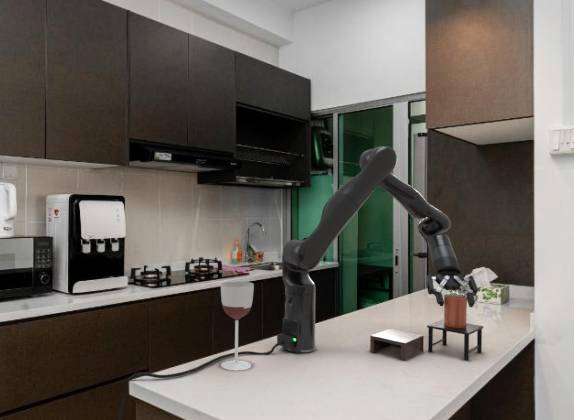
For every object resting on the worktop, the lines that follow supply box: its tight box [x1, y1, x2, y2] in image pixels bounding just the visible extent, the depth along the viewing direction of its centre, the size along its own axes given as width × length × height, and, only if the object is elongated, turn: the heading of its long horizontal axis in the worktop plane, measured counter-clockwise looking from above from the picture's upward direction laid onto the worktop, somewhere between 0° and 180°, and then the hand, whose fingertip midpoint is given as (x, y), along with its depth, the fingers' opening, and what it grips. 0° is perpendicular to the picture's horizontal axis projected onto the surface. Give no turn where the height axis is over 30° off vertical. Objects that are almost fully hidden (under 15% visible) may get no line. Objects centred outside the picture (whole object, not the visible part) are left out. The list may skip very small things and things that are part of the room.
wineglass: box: [220, 281, 255, 371], centre depth 129 cm, size 9×10×22 cm
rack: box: [426, 318, 484, 362], centre depth 143 cm, size 12×12×8 cm
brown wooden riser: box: [369, 328, 425, 361], centre depth 142 cm, size 12×11×5 cm
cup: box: [443, 293, 468, 328], centre depth 143 cm, size 6×6×9 cm
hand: (457, 305), depth 142 cm, fingers open, 8 cm apart
